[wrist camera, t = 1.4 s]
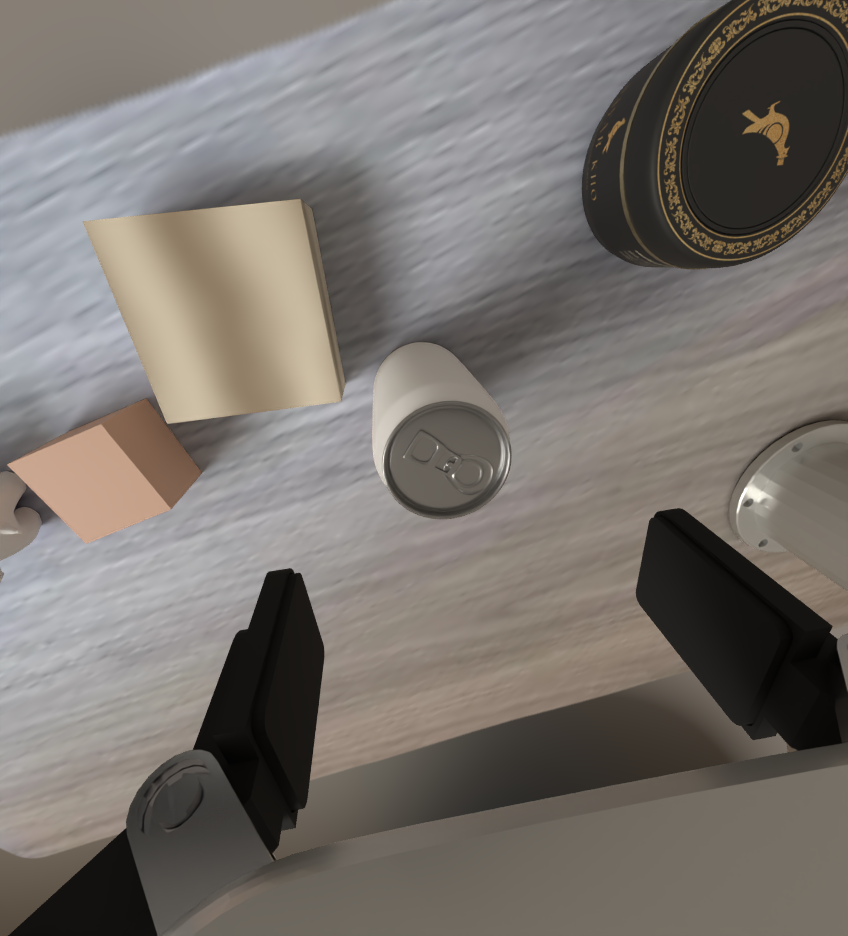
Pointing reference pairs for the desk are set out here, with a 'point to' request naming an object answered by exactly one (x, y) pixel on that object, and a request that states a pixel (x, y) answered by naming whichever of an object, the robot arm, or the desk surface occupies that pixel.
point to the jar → (724, 138)
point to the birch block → (225, 307)
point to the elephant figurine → (15, 517)
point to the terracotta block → (110, 471)
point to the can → (437, 433)
